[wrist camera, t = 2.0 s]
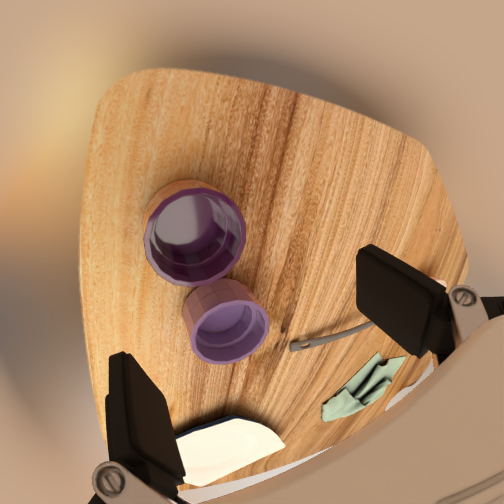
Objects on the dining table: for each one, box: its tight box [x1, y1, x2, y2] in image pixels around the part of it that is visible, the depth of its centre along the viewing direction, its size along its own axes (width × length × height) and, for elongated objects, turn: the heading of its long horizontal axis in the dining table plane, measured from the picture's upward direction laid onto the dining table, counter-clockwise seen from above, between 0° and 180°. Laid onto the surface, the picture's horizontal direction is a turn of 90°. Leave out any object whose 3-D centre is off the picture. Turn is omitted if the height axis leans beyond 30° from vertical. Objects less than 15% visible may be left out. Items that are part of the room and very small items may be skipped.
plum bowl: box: [142, 179, 246, 287], centre depth 19 cm, size 7×7×4 cm
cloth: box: [321, 352, 407, 422], centre depth 45 cm, size 20×22×2 cm
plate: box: [175, 415, 285, 486], centre depth 34 cm, size 20×20×3 cm
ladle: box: [290, 277, 447, 352], centre depth 34 cm, size 6×28×5 cm, turn 94°
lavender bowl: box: [182, 278, 269, 365], centre depth 23 cm, size 7×7×4 cm
